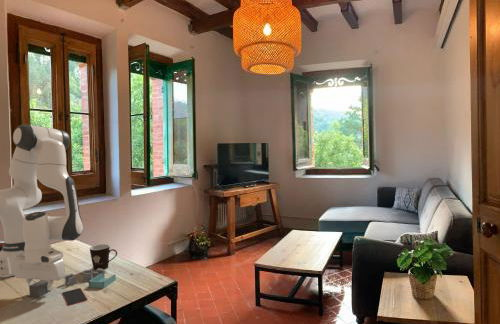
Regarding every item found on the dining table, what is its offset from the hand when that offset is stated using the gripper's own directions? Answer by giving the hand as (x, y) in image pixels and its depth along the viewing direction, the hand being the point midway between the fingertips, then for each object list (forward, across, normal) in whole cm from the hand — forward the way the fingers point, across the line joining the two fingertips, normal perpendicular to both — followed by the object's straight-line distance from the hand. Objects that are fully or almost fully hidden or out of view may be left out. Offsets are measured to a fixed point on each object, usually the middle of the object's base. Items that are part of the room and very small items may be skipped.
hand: (40, 289), depth 137 cm
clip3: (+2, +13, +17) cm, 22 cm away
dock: (+2, +18, +12) cm, 22 cm away
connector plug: (+2, 0, +2) cm, 3 cm away
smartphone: (+2, +15, 0) cm, 15 cm away
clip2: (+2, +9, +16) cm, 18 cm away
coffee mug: (+2, +8, +28) cm, 29 cm away
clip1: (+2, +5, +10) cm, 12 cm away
